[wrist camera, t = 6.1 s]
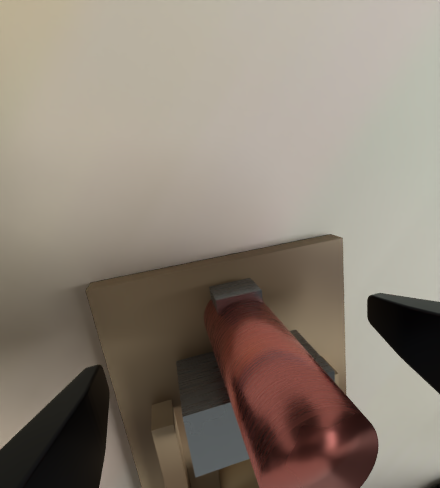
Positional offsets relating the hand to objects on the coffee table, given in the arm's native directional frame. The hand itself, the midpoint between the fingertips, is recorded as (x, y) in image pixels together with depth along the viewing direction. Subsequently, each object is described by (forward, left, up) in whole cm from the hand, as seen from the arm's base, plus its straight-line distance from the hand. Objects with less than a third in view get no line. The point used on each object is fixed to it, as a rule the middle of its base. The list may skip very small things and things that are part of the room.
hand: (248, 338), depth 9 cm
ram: (-1, 0, -2) cm, 2 cm away
